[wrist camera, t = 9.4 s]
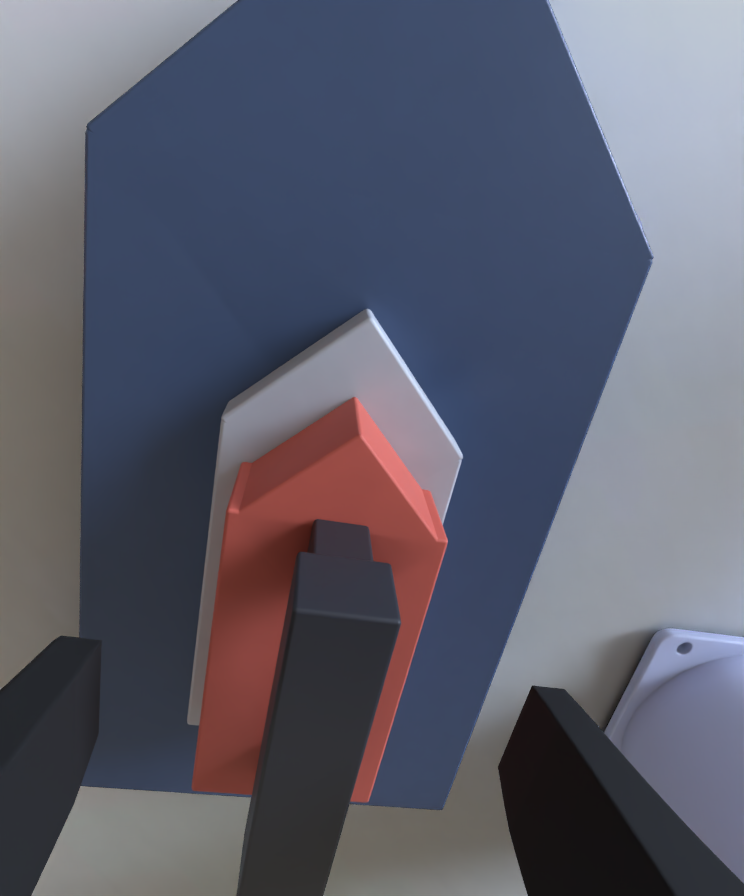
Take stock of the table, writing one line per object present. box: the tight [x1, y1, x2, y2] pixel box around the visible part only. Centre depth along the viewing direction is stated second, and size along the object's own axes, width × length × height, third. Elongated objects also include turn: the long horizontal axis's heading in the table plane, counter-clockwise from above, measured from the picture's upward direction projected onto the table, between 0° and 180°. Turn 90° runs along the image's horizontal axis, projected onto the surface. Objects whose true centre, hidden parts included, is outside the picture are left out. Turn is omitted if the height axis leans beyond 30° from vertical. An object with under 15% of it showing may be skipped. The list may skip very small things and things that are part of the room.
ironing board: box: [79, 0, 653, 810], centre depth 14 cm, size 11×22×3 cm, turn 168°
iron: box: [187, 309, 463, 896], centre depth 11 cm, size 11×5×6 cm, turn 168°
